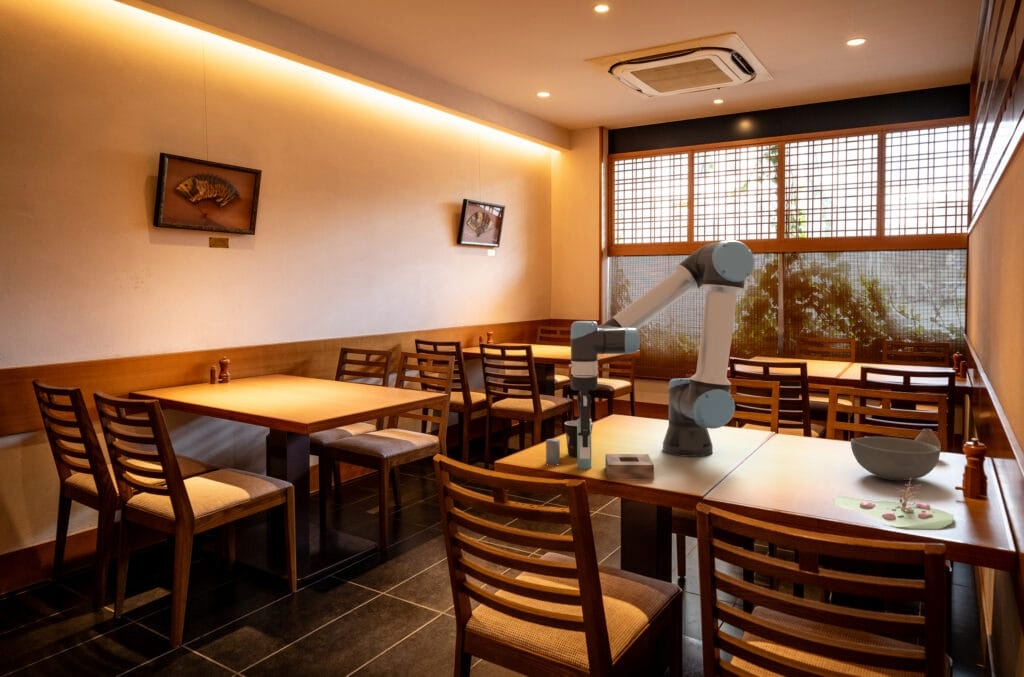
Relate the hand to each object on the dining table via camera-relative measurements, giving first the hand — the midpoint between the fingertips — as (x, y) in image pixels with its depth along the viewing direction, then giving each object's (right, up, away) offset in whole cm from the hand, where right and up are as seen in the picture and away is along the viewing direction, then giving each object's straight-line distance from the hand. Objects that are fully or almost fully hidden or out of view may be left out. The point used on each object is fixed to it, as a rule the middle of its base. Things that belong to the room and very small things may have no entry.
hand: (584, 454), depth 193 cm
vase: (+102, -3, +6) cm, 102 cm away
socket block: (+12, -4, -7) cm, 14 cm away
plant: (+64, -7, -40) cm, 76 cm away
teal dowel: (0, -4, 0) cm, 4 cm away
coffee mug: (0, -3, +16) cm, 17 cm away
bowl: (+80, -4, -14) cm, 82 cm away
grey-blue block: (-9, -4, +5) cm, 11 cm away
